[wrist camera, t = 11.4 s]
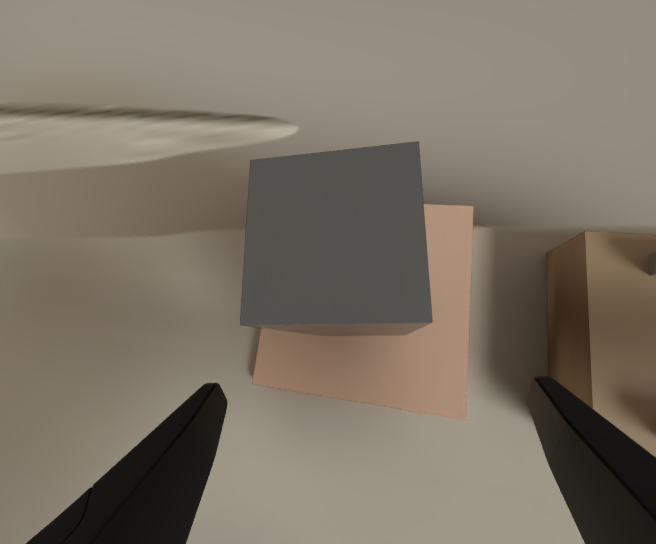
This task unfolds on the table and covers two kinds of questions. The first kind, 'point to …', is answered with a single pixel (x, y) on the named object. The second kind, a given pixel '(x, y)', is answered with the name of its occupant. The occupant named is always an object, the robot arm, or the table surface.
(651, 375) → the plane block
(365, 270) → the dark gray rectangular block
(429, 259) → the rubber mat
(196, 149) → the table surface
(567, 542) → the table surface
